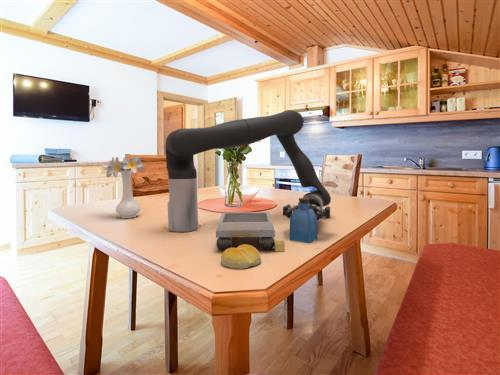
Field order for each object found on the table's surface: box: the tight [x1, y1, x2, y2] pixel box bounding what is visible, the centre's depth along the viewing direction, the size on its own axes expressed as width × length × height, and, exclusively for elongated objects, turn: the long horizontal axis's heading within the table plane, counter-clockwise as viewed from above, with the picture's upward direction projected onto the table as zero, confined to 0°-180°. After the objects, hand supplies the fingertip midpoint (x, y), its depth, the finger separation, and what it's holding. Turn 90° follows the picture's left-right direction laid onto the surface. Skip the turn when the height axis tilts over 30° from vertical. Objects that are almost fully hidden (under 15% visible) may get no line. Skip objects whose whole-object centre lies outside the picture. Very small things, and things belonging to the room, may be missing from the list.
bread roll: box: [220, 243, 262, 270], centre depth 66 cm, size 8×9×4 cm
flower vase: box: [101, 155, 147, 219], centre depth 116 cm, size 13×18×25 cm
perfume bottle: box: [289, 197, 319, 244], centre depth 84 cm, size 6×6×12 cm
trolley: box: [215, 211, 286, 253], centre depth 80 cm, size 18×15×8 cm
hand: (303, 215), depth 83 cm, fingers open, 8 cm apart
